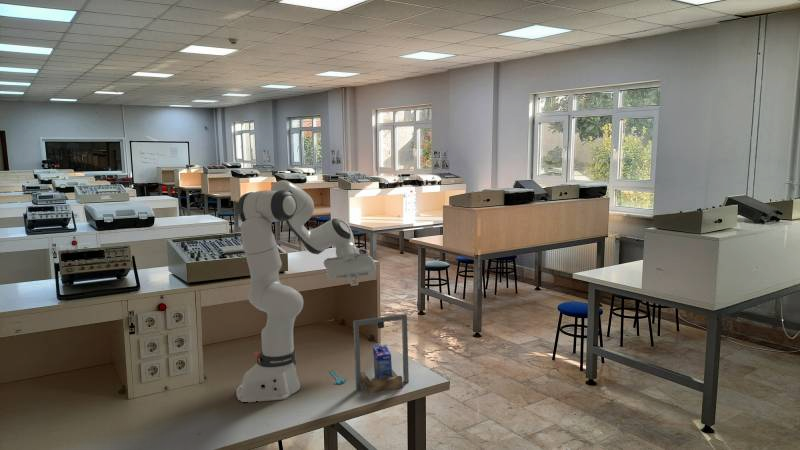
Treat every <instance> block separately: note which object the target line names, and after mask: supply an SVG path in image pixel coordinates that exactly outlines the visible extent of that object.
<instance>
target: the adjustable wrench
mask: <svg viewBox="0 0 800 450" xmlns="http://www.w3.org/2000/svg"><path fill="white" fill-rule="evenodd" d="M328 371H329V373H330V374H331V376H332V377H333V378H334V379H335V382H333V385H340V386H341V385H342V384H345V383H346V382H347V379H346V378H341V377H340V376H339V375H338V374H337V372H335V371H334V369H330V370H328Z"/></svg>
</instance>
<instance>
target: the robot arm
mask: <svg viewBox="0 0 800 450" xmlns="http://www.w3.org/2000/svg"><path fill="white" fill-rule="evenodd" d="M237 203H238V204H237V212H238V216H239V217H240V221H241V222H242V223H241V225H240V237H241V242H242V248H243V252H244V255H245V258H246V262H247V266H248V270H249V275H250V286H249V289H248V291H247V299H248V302H249V303H250V304H251V305H252V306H253V307H254V308H256V309H257V310H258V311H262V312H263V313H266V315H267V318H266V324H265V326H264V327H263V328H262V329H261V333H260V334H261V336H260V337H261V338H260V339H261V352H260V351H258V350H257V351H255V352H254V356H255V358H256V362H257V363H255V365H253V366H252V367H251V368H250V369H249V370H247V371H246V372H245V374H244V375H243V378H242V381H241V382H242V383H241V384H240V385H239V386H238V387H236V392H235V396H237V397H236V399H237V398H238V399H237V400H238V401H239V400H240V401H242V402H248V403H256V401H258V402H268V401H279V400H286V399H288V398H289V397H290V396H291V395H293V394H295V393H296V392H298V391H299V390H300V389H301V383H300V380H299V377H298V373H297V367H296V364H297V355H296V349H295V346H294V345H295V344H294V326H295V321H296V319H297V316H298V315H299V314H300V313H301V311H302V310H303V307H304V298H303V295H302V294H301V293H300V292H299V291H298V290H296V289H295V288H293V287H292V286H289V285H285V284H282V283H281V281H280V278H279V277H280V276H279V275H280V270H281V268H282V265H283V263H282V259H281V255H280V252H279V248H278V244H277V240H276V237H275V234H274V233H273V229H272V224H273V223H274V222H286V224H287V227H288V228H289V229H290V231H291V232H292V233H293V234H294V235H295V236H296V237H297V238H298V240H299V241H300V242H301V243H302V244H303V246H304V247H305V249H306V250H307V251H308V253H311V254H313V255H319V254H321V253H322V252H325V250H327V249H328V248H331V247H333V246H334V248H335V255H336V257H329V258H326V259H324V261H323V265H324V267H325V269H326V270H325V271H326V274H325V275H326V278H327V279H328V280H337V279H346V281H347V282H349V284H350V286H351V287H353V286H359V279H360V277H364V276H365V277H366V276H373V275H375V274H376V271H377V266H376V263H375V260H374V258H373V257H372V256H371V255H370V250H368V249H365V248H359V247H357V246H356V244H355V237H354V233H353V231H352V229H351V226H350V225H349V223H348V222H346V221H345V220H344V221H343V220H342V219H340V218H339V219H338V218H332V219H330V220H327V221H326V222H324V223H323V224H321V225H319V226H317V227H315V228H313V229H307V228H306V226H305V224H306V223H307V221H309V220H310V219H311V218H312V216H313V213H314V211H315V202H314V200H313V198H312V197H311V196H310V194H308V193H307V191H305V190H304V189H302V187H300V186H298V185H296V184H295V183H293V182H291V181H289V180H286V179H283V180H278V181H276V182H275V183H274V184H273V185H272V186H271V187H270V190H259V191H250V192H247V193H244V194H243V195H241V196H240V198H239V200H238V202H237ZM352 278H354V279H352ZM240 401H239V402H240ZM242 402H241V403H242ZM258 402H257V403H258Z"/></svg>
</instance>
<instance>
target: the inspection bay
mask: <svg viewBox="0 0 800 450" xmlns="http://www.w3.org/2000/svg"><path fill="white" fill-rule="evenodd" d="M361 383H362V384H363V385H364V387H365V388H366V390H367V391H368V393H369V394H370V395H371V394H377V393H381V392H388V391H393V390H399V389H403V377H402V375H397V373H396V372H395V371H394V370H393V369H392V377H390V378H385V379H379V380H376V379H373V380H370V378H369V377H368V375H366V373H365V371H361Z"/></svg>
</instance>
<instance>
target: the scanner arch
mask: <svg viewBox="0 0 800 450" xmlns="http://www.w3.org/2000/svg"><path fill="white" fill-rule="evenodd" d="M395 321H401V335H402V337H401V338H402V341H401V342H402V371H403V373H402V375H403V377H402V382H403V383H406V384H407V383H409V382H410V380H409V378H410V377H409V375H410V374H409V346H408V345H409V343H408V342H409V341H408V340H409V339H408V337H409V336H408V315H407V314H406V313H401V314H394V315H387V316H379V317H378V316H377V317H371V318H363V319H355V320H353V323H352V324H353V343H354V344H353V345H354V346H353V347H354V367H355V368H354V370H355V390H356V391H357V392H360V391H362V381H361V372H362V371H361V350H360V347H361V346H360V326H364V325H365V326H366V325H372V324H376V325H377V329H383V328H385V323H389V322H395Z"/></svg>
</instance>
